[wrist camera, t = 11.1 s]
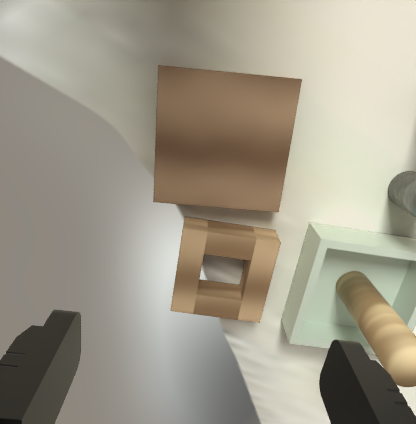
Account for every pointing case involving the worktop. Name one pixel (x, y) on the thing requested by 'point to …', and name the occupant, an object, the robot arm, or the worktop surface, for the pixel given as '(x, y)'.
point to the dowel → (380, 327)
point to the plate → (223, 138)
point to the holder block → (233, 248)
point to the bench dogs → (404, 191)
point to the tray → (333, 269)
